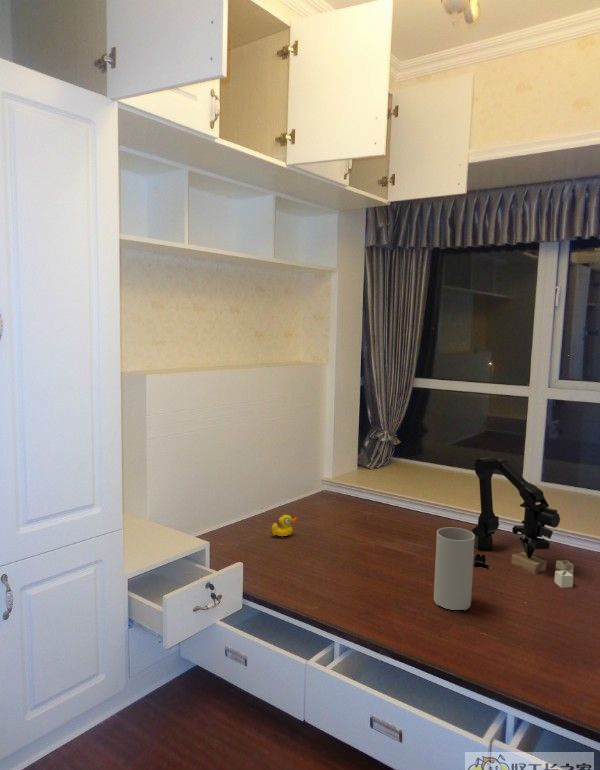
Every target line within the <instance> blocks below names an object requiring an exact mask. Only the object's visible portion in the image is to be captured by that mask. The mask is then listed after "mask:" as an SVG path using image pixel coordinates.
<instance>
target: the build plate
mask: <svg viewBox="0 0 600 770" xmlns="http://www.w3.org/2000/svg"><path fill="white" fill-rule="evenodd" d="M473 561H474V562H473V566H475V567H474V568H477V567H483V568H487V569H486V570H488V569H489V567H490V565H491V564H490V563H487V561H488V560H487V557H486V554H480V553H479V554H478V553H476V554H475V556H474V558H473Z"/></svg>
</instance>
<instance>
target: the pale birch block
mask: <svg viewBox="0 0 600 770" xmlns="http://www.w3.org/2000/svg"><path fill="white" fill-rule="evenodd" d="M555 562H556V563H555V571H568V572H569V573H570V574H572V575H573V576H574V567H575V564H573V563H572V562H570V561H569V560H567V559H564V560H556V561H555Z"/></svg>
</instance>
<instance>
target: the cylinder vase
mask: <svg viewBox="0 0 600 770" xmlns="http://www.w3.org/2000/svg"><path fill="white" fill-rule="evenodd" d="M474 544H475V535H474V534H473V532H472V531H470V530H468V529H465V528H460V527H448V526H447V527H441V528H439V529H437V531H436V543H435V562H434V563H435V564H434V565H435V566H434V586H433V601H434V603H435V604H436V605H437V606H438V605H439V606H441V607H443V608H446V609H450V610H464V611H467V610H468V609H469V608H470V607H471V605H472V604H471V603H472V587H473V571H474V567H473V561H474V558H475V556H474V554H475V547H474ZM439 606H438V607H439ZM441 607H440V608H441ZM443 608H442V609H443ZM446 609H445V610H446ZM450 610H449V611H450Z"/></svg>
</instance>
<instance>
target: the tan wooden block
mask: <svg viewBox="0 0 600 770" xmlns="http://www.w3.org/2000/svg"><path fill="white" fill-rule="evenodd" d="M511 563H512V565H513V564H514V566H515V567H518V568H520V567H521V568H520V569H523V570H525V571H527V572H529V573H532V574H533V573H534V574H533V575H536V574H540V573H542V572H546V571H547V563H548V562H547V560H544V559H542V558H539V557H537V556H535V555H532V556H531V558H528V557H527V555H526V552H525V551H522V552H521V551H520V552H517V553H513V554H511Z"/></svg>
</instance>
